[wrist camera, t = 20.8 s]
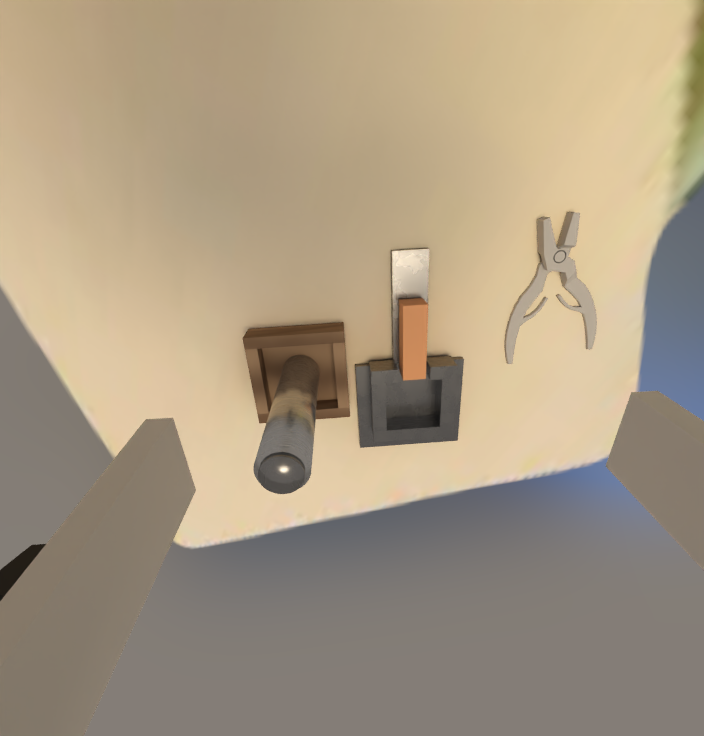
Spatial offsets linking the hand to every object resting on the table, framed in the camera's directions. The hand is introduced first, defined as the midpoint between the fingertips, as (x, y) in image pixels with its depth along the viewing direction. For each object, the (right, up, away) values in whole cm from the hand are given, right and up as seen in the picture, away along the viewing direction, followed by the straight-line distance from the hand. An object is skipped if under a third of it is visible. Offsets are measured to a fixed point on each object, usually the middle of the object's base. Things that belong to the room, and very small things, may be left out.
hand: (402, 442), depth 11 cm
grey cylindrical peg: (-7, +2, +29) cm, 30 cm away
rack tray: (-7, +2, +30) cm, 31 cm away
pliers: (+19, +11, +28) cm, 36 cm away
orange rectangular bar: (+5, +6, +29) cm, 30 cm away
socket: (+5, +3, +30) cm, 31 cm away
